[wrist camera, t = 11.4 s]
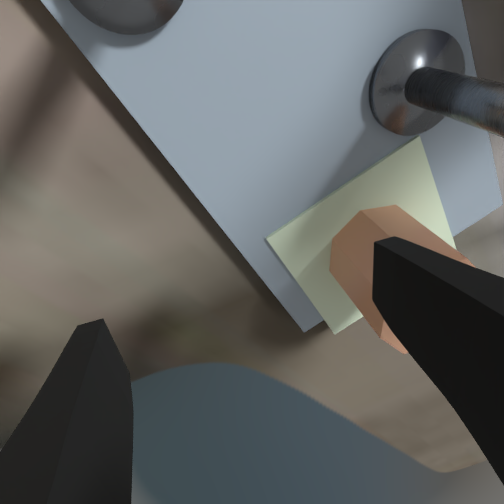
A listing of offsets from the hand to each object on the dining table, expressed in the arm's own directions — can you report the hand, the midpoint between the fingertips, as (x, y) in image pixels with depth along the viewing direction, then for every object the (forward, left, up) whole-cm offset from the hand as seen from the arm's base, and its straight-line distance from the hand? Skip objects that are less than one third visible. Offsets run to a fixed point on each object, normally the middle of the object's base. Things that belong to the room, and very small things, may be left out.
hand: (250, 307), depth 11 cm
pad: (-11, 0, -10) cm, 14 cm away
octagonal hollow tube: (-11, 0, -9) cm, 14 cm away
